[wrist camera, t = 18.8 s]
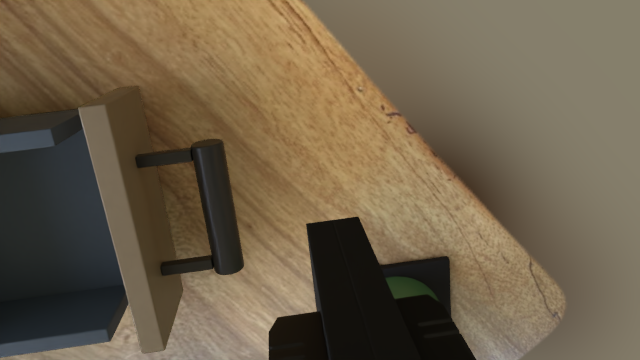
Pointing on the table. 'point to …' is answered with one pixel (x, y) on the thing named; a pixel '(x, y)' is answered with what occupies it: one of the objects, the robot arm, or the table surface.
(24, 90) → the table surface
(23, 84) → the table surface
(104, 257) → the drawer
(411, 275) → the coaster
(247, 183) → the table surface
